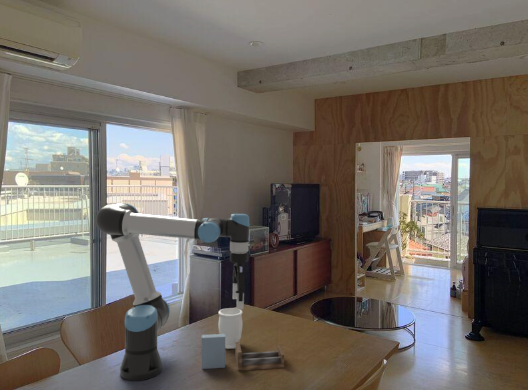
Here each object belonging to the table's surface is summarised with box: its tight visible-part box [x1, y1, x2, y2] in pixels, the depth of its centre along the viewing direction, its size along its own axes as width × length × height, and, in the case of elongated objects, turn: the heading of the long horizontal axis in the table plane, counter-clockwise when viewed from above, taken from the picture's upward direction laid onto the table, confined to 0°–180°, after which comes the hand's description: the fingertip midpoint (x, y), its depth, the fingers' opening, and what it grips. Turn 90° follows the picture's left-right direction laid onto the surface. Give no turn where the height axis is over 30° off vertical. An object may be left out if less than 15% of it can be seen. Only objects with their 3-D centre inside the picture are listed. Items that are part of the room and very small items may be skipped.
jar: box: [218, 307, 243, 350], centre depth 173 cm, size 11×10×15 cm
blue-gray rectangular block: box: [201, 333, 226, 370], centre depth 153 cm, size 9×3×12 cm, turn 99°
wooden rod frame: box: [234, 341, 285, 372], centre depth 156 cm, size 18×10×7 cm, turn 99°
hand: (237, 303), depth 160 cm, fingers open, 13 cm apart
